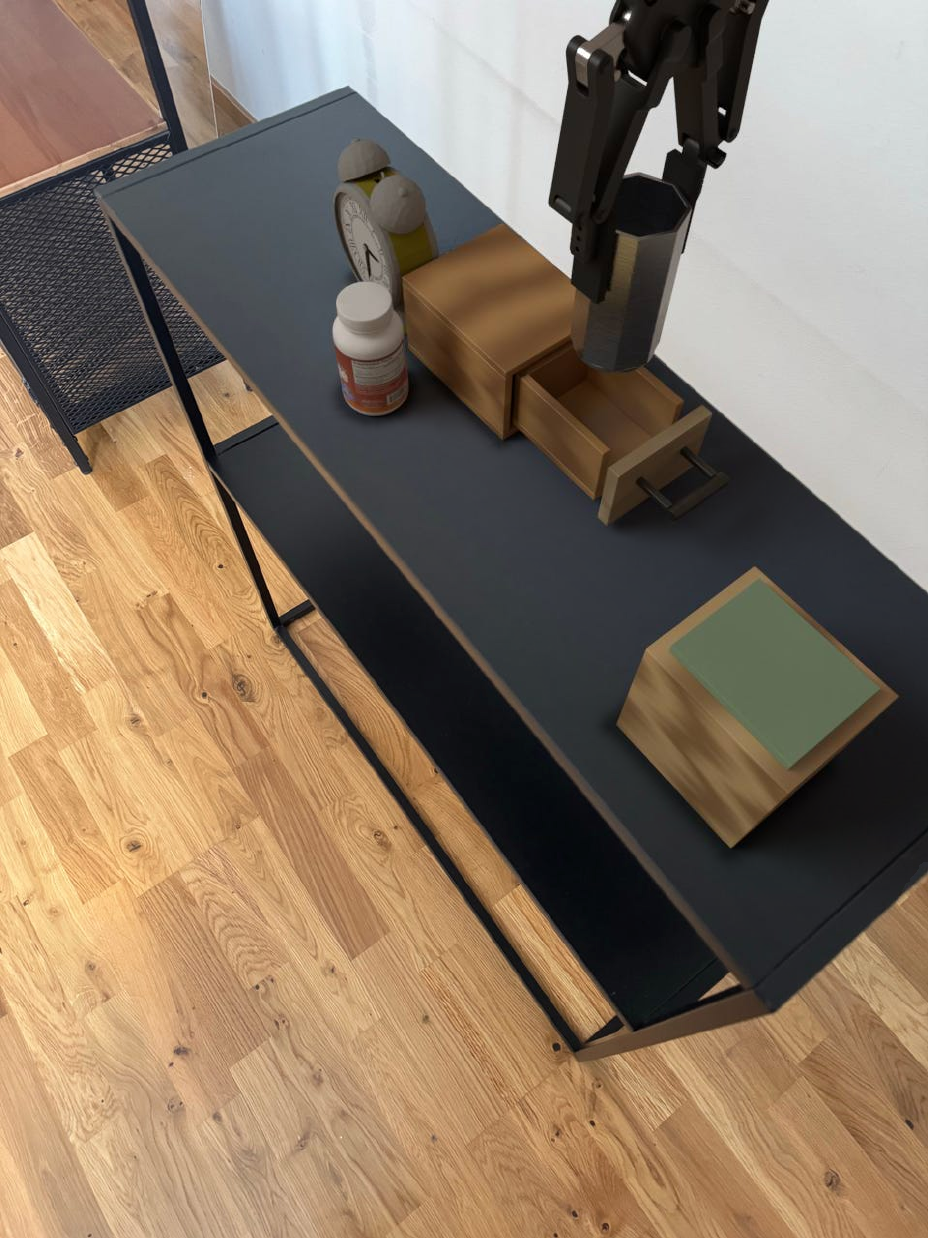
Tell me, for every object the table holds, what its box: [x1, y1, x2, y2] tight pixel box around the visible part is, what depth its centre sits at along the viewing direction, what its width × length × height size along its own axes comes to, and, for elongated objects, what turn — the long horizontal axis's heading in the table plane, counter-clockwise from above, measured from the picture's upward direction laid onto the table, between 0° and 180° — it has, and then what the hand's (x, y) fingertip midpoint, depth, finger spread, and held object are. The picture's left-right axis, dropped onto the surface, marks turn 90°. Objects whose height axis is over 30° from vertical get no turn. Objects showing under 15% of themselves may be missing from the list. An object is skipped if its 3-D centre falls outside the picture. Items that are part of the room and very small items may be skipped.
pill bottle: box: [332, 281, 409, 417], centre depth 78 cm, size 6×6×11 cm
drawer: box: [513, 340, 730, 527], centre depth 75 cm, size 18×10×7 cm, turn 38°
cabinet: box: [402, 222, 576, 441], centre depth 81 cm, size 15×12×9 cm
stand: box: [615, 566, 900, 849], centre depth 61 cm, size 12×10×13 cm
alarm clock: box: [332, 137, 440, 335], centre depth 83 cm, size 12×7×15 cm, turn 33°
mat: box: [669, 578, 881, 770], centre depth 55 cm, size 10×8×1 cm
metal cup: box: [570, 171, 692, 373], centre depth 63 cm, size 6×6×12 cm
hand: (627, 267), depth 62 cm, fingers closed on metal cup, 7 cm apart
